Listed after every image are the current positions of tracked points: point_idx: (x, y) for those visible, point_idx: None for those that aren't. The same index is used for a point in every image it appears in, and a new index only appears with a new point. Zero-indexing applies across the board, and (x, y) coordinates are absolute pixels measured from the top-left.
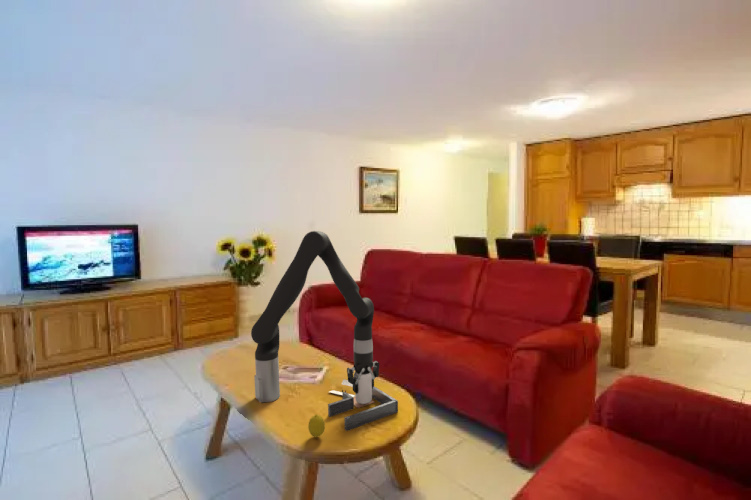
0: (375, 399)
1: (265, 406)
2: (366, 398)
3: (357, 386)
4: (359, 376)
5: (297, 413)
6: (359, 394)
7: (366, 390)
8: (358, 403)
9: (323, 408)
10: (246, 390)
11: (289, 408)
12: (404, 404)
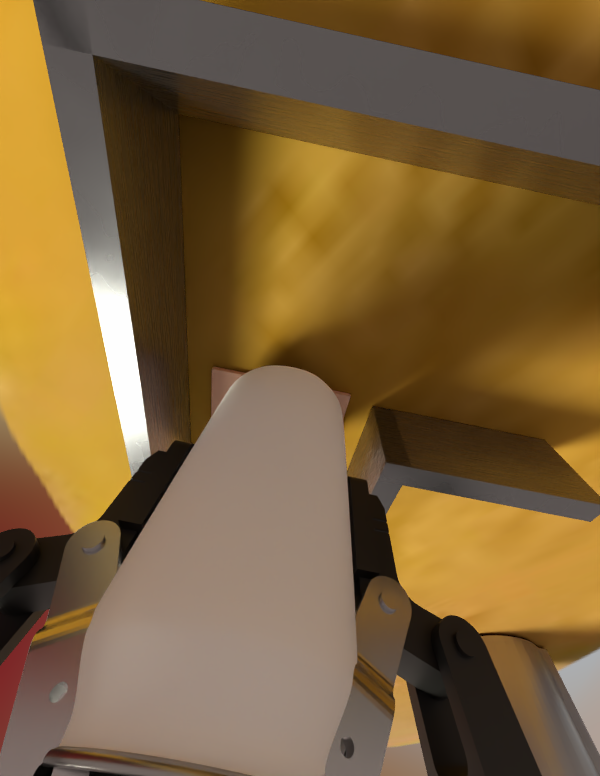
0: (187, 386)
1: (561, 632)
2: (304, 390)
3: (365, 543)
4: (366, 745)
5: (572, 552)
6: (343, 456)
7: (295, 442)
8: None
9: (465, 510)
10: None
11: (539, 587)
12: (12, 148)
